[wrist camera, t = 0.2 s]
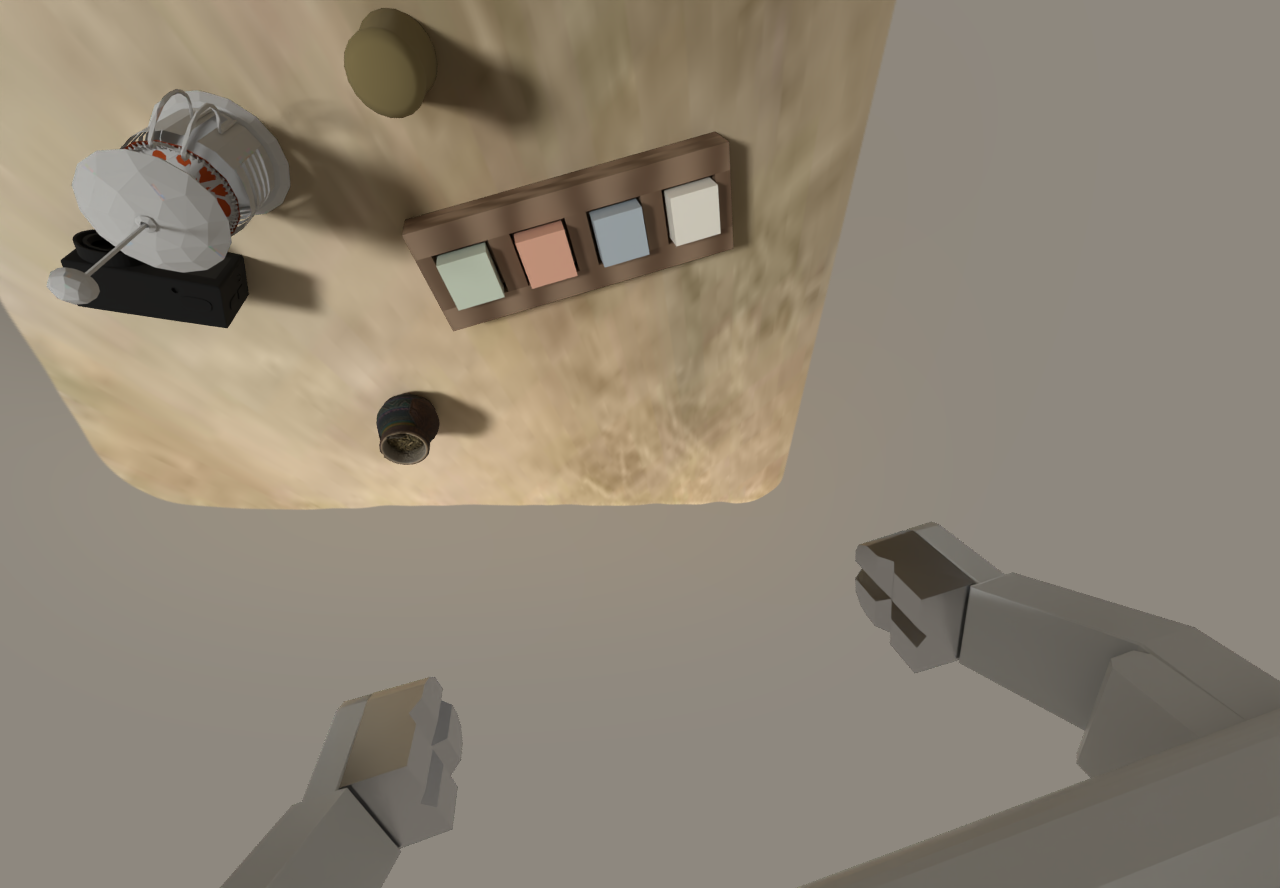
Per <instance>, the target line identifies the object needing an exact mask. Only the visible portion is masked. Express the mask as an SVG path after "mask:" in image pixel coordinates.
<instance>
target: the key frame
mask: <svg viewBox="0 0 1280 888" xmlns="http://www.w3.org/2000/svg"><path fill="white" fill-rule="evenodd" d="M708 177H710V178H711V179H712V180H713V181H714V182H715V183H716V184H717V185H718V197H719V213H720V230H721V234H717V235H714V236H711V237H707V238H704V239H700V240H697V241H694V242H690V243H687V244H683V245H680V246H677V247H676V245H675V244H674V242H673V241H672V240H671V238H670V235H669V228H668V221H667V213H666V206H665V199H664V191H663V190H666V189H670V188H673V187H677V186H680V185H684V184H687V183H690V182H694V181H697V180H701V179H704V178H708ZM635 198H636V200H637V201H638V203H639V204H640V205H641V207H642V213H643V218H644V224H645V230H646V236H647V242H648V248H649V255H646V256H643V257H639V258H636V259H632V260H629V261H626V262H622V263H619V264H615V265H612V266H609V267H604V265H603V262H602V260H601V258H600V254H599V250H598V246H597V242H596V238H595V234H594V230H593V226H592V222H591V218H590V214H589V212H590V211H594V210H597V209H600V208H604V207H607V206H611V205H614V204H618V203H621V202H625V201H628V200H632V199H635ZM559 220H561V222H562V225H563V227H564V230H565V234H566V237H567V241H568V244H569V248H570V251H571V254H572V258H573V261H574V265H575V268H576V272H577V275H578V276H575V277H571V278H568V279H565V280H561V281H558V282H554V283H551V284H548V285H544V286H541V287H537V288H534V289H532V287H531V284H530V282H529V279H528V276H527V274H526V271H525V268H524V266H523V263H522V260H521V257H520V255H519V252H518V249H517V247H516V244H515V239H514V233H517V232H521V231H524V230H528V229H531V228H535V227H538V226H542V225H545V224H549V223H552V222H555V221H559ZM402 237H403V239H404V241H405V242H406V244H407V246H408V248H409V250H410V252H411V254H412V255H413V257H414V259H415V261H416V263H417V265H418V267H419V268H420V270H421V272H422V274H423V276H424V278H425V280H426V281H427V283H428V285H429V287H430V289H431V291H432V293H433V295H434V296H435V298H436V300H437V302H438V304H439V306H440V308H441V309H442V311H443V313H444V315H445V317H446V319H447V321H448V322H449V324H450V326H451V328H452V330H453V331H456V330H460V329H463V328H466V327H470V326H473V325H477V324H480V323H483V322H487V321H490V320H493V319H497V318H500V317H504V316H507V315H510V314H514V313H517V312H520V311H524V310H527V309H531V308H534V307H537V306H541V305H544V304H547V303H551V302H554V301H558V300H561V299H564V298H568V297H571V296H574V295H578V294H581V293H585V292H588V291H591V290H595V289H598V288H601V287H605V286H608V285H612V284H615V283H618V282H622V281H625V280H628V279H632V278H635V277H639V276H642V275H645V274H649V273H652V272H655V271H659V270H662V269H666V268H669V267H672V266H676V265H679V264H683V263H686V262H689V261H693V260H696V259H699V258H703V257H706V256H710V255H713V254H716V253H720V252H723V251H726V250H730V249H733V226H732V201H731V177H730V153H729V141H727V140H726V139H724V138H723V137H722V136H720V135H719V134H718V133H716V132H712V133H708V134H705V135H701V136H698V137H694V138H691V139H687V140H684V141H680V142H677V143H673V144H670V145H666V146H663V147H659V148H656V149H652V150H649V151H645V152H642V153H638V154H635V155H631V156H628V157H624V158H621V159H617V160H614V161H610V162H607V163H603V164H600V165H596V166H593V167H589V168H585V169H582V170H578V171H575V172H571V173H568V174H564V175H561V176H557V177H554V178H550V179H547V180H543V181H540V182H536V183H533V184H529V185H526V186H522V187H519V188H515V189H512V190H508V191H505V192H501V193H498V194H494V195H491V196H487V197H484V198H480V199H477V200H473V201H470V202H466V203H463V204H459V205H456V206H452V207H449V208H445V209H442V210H438V211H435V212H431V213H428V214H424V215H421V216H417V217H414V218H410V219H407V220H405V223H404V228H403V232H402ZM483 242H485V243H486V245H487V248H488V250H489V253H490V255H491V257H492V260H493V262H494V265H495V267H496V269H497V272H498V274H499V277H500V279H501V281H502V284H503V286H504V295H505V297H503V298H500V299H497V300H493V301H490V302H486V303H483V304H480V305H476V306H473V307H469V308H466V309H463V310H458V308H457V306H456V304H455V302H454V300H453V298H452V297H451V295H450V293H449V291H448V289H447V287H446V285H445V283H444V281H443V279H442V277H441V275H440V273H439V271H438V269H437V267H436V263H437V256H438V255H441V254H445V253H448V252H452V251H455V250H459V249H462V248H466V247H469V246H472V245H476V244H479V243H483Z"/></svg>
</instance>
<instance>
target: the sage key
mask: <svg viewBox="0 0 1280 888" xmlns="http://www.w3.org/2000/svg"><path fill="white" fill-rule="evenodd" d="M436 267H437V269H438V271H439V273H440V275H441V277H442V279H443V281H444V283H445V285H446V287H447V289H448V291H449V293H450V295H451V297H452V298H453V300H454V302H455V304H456V306H457V308H458V310H463V309H466V308H469V307H473V306H476V305H480V304H483V303H486V302H490V301H493V300H497V299H500V298H503V297H505V295H504V286H503V284H502V281H501V279H500V277H499V274H498V272H497V269H496V267H495V265H494V262H493V260H492V257H491V255H490V253H489V250H488V248H487V245H486V243H485V242H483V243H479V244H476V245H472V246H469V247H466V248H462V249H459V250H455V251H452V252H448V253H445V254H441V255H438V256H437V263H436Z"/></svg>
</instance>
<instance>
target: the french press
mask: <svg viewBox="0 0 1280 888" xmlns="http://www.w3.org/2000/svg"><path fill="white" fill-rule="evenodd" d="M143 132H144V133H143ZM146 132H147V133H146ZM138 133H139V134H138ZM138 133H136V134H135V135H133V136H131V137H130V138H129V139H128V140H127V141H126V143H125V144H124V145H123V146H122V147H121V148H120V149H117V150H101V151H95V152H94V153H92V154H91V155H89V156H88V157H87V158H85V159H84V160H82V161H81V162H80V163H78V164H77V167H76V171H75V175H74V179H73V183H72V187H73V190H74V194H75V197H76V200H77V203H78V206H79V209H80V211H81V212H82V214H83V215H84V216H85V217H86V219H87V220H88V221H89V222H90V224H91V225H92V226H93V227H94V229H95V230H96V231H97V232H98V234H99V235H100V236H102V237H103V238H104V239H106V240H107V241H108V242H110V243H111V244H112V245H114V246H115V248H114V249H112V250H111V251H110V252H109V253H108V254H107V255H105V256H104V257H103V258H102V259H101V260H99V261H98V262H97V263H96V264H95V265H94V266H92V267H91V268H90V269H89V270H88V271H87V272H85V273H84V272H81V271H79V270H76V269H72V268H66V267H63V268H57V269H55V270H53V271H52V272H50V275H49V279H48V282H47V288H48V289H49V290H50V291H51V292H52V293H53V294H54V295H55V296H56V297H57V298H59V299H61V300H63V301H66V302H69V303H72V304H75V305H76V304H88V303H89V302H91V301H92V300H94V299H96V298H97V296H98V294H99V292H100V290H99V287H98V284H97V283H96V282H95V280H94V279H93V278H92V277H90V276H91V275H92V274H93V273H94V272H96V271H97V270H98V269H99V268H100V267H101V266H102V265H104V264H105V263H106V262H107V261H108V260H109V259H111V258H112V257H113V256H114V255H115V254H116V253H117V252H119V251H122V252H123V253H124V254H126V255H128V256H130V257H133V258H135V259H137V260H139V261H142V262H144V263H146V264H148V265H151V266H153V267H155V268H161V269H166V270H172V271H177V272H182V273H184V272H193V271H202V270H208V269H209V268H211V267H213V266H214V265H216V264H217V263H219V262H221V261H222V260H224V258H225V256H226V254H227V252H228V249H229V247H230V245H231V243H232V242H231V236H233V235H234V234H236V233H238V232H239V231H241V230H242V229H243V228H244V227H245V226H246V225H247V224H248V223H249V222H250V220H251V219H252V217H253V216H254V215H259V214H267V213H268V212H270V211H271V210H273V209H274V208H276V207H277V206H279V205H281V204H282V203H283V201H284V199H285V197H286V194H287V192H288V190H289V188H290V175H289V164H288V162H287V159H286V157H285V155H284V153H283V151H282V149H281V147H280V145H279V143H278V141H277V139H276V138H275V137H274V136H273V135H272V134H271V133H270V132H269V130H268V129H267V128H266V127H265V126H264V125H263V124H262V123H261V122H260V121H259V119H258V118H257V117H256V116H254V115H252V114H251V113H249V112H248V111H246V110H245V109H243V108H242V107H240V106H239V105H237V104H235V103H234V102H232V101H231V100H229V99H227V98H223V97H220V96H217V95H213V94H210V93H207V92H203V91H200V90H196V91H183V90H180V89H175V90H173V91H170V92H169V93H168V94H166V95H165V96H164V97H163V98H162V100H161V101H160V102H158V103H157V104H156V105H155V106H154V109H153V112H152V116H151V119H150V122H149V125H148V127H147V128H145V129H143V130H142V131H140V132H138ZM142 133H143V134H142ZM145 133H146V138H145V141H143V136H144V134H145ZM137 134H138V135H137ZM141 134H142V135H141ZM136 135H137V136H136ZM140 135H141V136H140ZM135 136H136V137H135ZM139 136H140V137H139ZM134 137H135V139H134V140H133V141H132V142H131V140H132V139H133V138H134ZM138 137H139V140H138V141H137V142H135V140H136V139H137V138H138ZM130 142H131V144H129V143H130ZM128 144H129V145H128ZM127 145H128V146H127ZM240 215H241V217H240ZM249 216H250V217H249ZM247 217H249V218H247ZM245 218H247V219H245ZM240 219H245V220H244V221H239V220H240ZM247 220H248V221H247ZM245 221H247V222H245ZM244 222H245V223H244ZM242 223H244V224H242ZM238 224H242V225H240V226H239V227H237V225H238Z"/></svg>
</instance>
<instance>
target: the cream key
mask: <svg viewBox="0 0 1280 888" xmlns="http://www.w3.org/2000/svg"><path fill="white" fill-rule="evenodd" d="M663 191H664V199H665V206H666V213H667V221H668V228H669V235H670V238H671V240H672V241H673V242H674V244H675V245H676V247H677V246H680V245H683V244H687V243H690V242H694V241H697V240H700V239H704V238H707V237H711V236H714V235H717V234H721V230H720V213H719V197H718V185H717V184H716V183H715V182H714V181H713V180H712V179H711V178H710V177H708V178H704V179H701V180H697V181H694V182H690V183H687V184H684V185H680V186H677V187H673V188H670V189H666V190H663Z"/></svg>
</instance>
